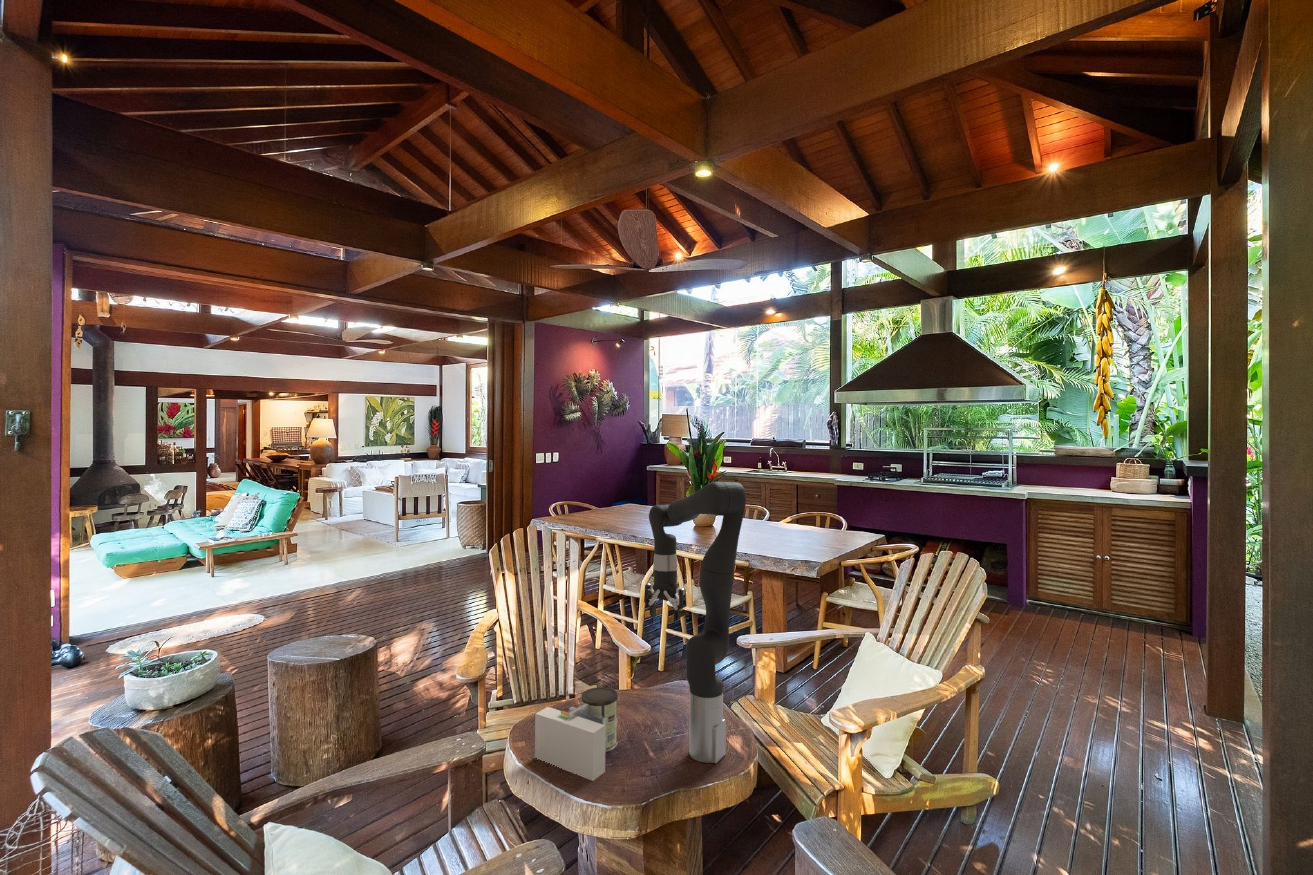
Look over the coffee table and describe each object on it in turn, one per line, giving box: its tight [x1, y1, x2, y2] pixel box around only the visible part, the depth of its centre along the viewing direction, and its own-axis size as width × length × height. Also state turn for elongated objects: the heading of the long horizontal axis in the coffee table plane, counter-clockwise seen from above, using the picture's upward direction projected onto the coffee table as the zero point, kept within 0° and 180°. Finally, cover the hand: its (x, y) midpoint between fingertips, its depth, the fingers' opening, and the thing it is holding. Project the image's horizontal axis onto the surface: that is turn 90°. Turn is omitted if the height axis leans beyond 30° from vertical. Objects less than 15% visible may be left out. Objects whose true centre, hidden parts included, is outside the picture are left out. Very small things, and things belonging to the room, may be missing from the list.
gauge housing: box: [534, 706, 606, 782], centre depth 156 cm, size 20×5×12 cm, turn 58°
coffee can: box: [580, 686, 619, 753], centre depth 167 cm, size 10×10×14 cm
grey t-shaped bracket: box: [560, 703, 606, 751], centre depth 159 cm, size 12×8×11 cm, turn 58°
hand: (664, 619), depth 186 cm, fingers open, 8 cm apart
